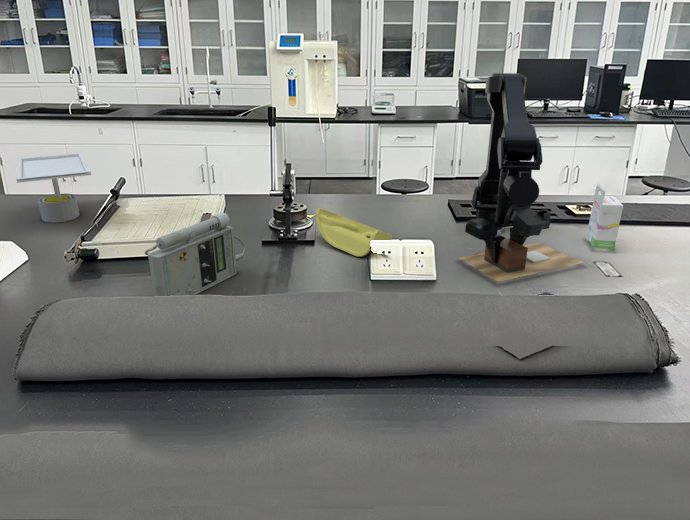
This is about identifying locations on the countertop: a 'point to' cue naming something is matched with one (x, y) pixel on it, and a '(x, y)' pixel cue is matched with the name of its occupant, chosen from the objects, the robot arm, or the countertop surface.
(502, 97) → the robot arm
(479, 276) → the countertop surface
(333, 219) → the plastic component
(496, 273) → the board
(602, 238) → the ink box
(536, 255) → the chalk patch
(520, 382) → the countertop surface
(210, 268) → the geiger counter
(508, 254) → the brown boxy piece
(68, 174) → the solar panel model
